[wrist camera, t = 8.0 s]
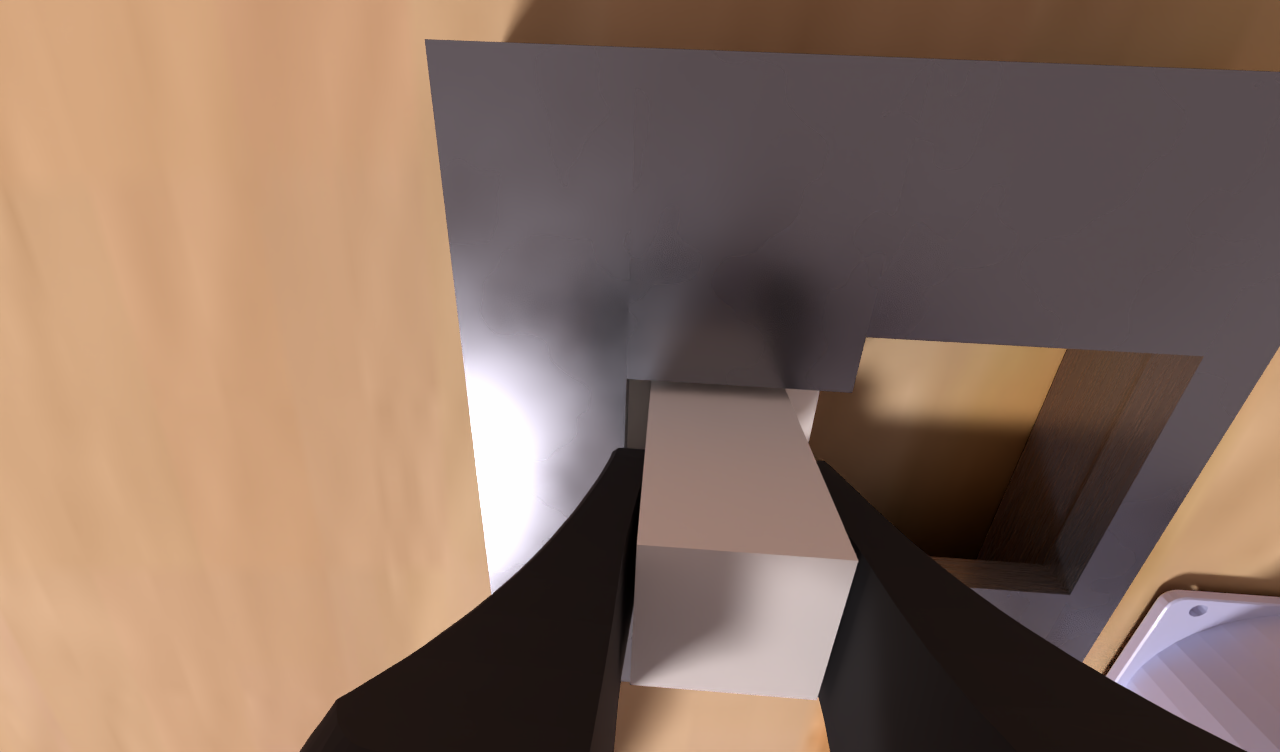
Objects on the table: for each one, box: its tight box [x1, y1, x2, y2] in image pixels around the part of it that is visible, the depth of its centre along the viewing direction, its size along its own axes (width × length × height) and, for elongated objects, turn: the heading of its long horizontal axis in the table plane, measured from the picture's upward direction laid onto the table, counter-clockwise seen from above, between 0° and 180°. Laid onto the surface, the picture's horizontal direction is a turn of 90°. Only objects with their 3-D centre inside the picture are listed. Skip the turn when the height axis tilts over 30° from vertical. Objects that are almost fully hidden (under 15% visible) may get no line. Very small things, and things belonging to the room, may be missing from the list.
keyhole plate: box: [425, 39, 1280, 697], centre depth 13 cm, size 16×16×4 cm
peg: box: [627, 379, 858, 700], centre depth 11 cm, size 6×6×8 cm
